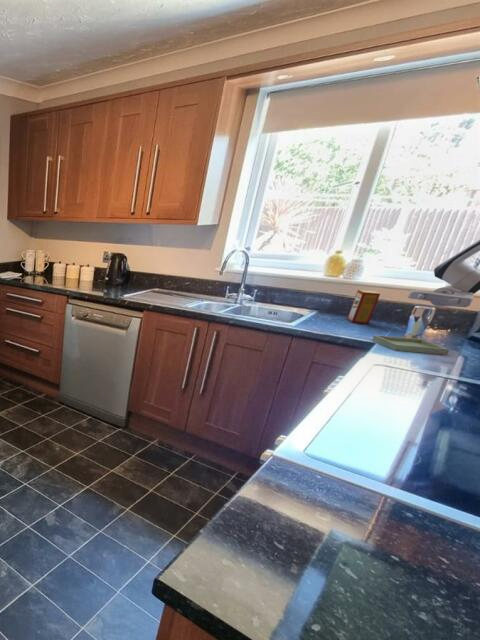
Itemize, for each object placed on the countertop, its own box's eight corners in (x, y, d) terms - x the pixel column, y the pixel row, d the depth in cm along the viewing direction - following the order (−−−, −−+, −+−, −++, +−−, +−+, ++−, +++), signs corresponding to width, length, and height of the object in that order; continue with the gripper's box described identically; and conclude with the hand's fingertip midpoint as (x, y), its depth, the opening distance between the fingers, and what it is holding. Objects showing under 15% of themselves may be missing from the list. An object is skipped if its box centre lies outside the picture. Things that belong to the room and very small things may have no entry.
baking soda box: (346, 318, 228) (358, 289, 222) (362, 320, 225) (374, 290, 219) (352, 322, 220) (363, 291, 214) (368, 324, 218) (380, 293, 212)
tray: (419, 344, 184) (422, 339, 184) (446, 354, 170) (449, 349, 170) (372, 340, 188) (374, 335, 188) (394, 350, 174) (397, 344, 174)
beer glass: (426, 342, 187) (441, 309, 181) (410, 342, 187) (425, 308, 181) (411, 338, 193) (425, 305, 187) (395, 337, 193) (409, 305, 188)
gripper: (416, 286, 203) (407, 288, 196) (478, 293, 188) (471, 296, 181) (410, 299, 206) (401, 301, 199) (471, 307, 190) (464, 310, 183)
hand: (435, 299), depth 190 cm, fingers open, 8 cm apart
